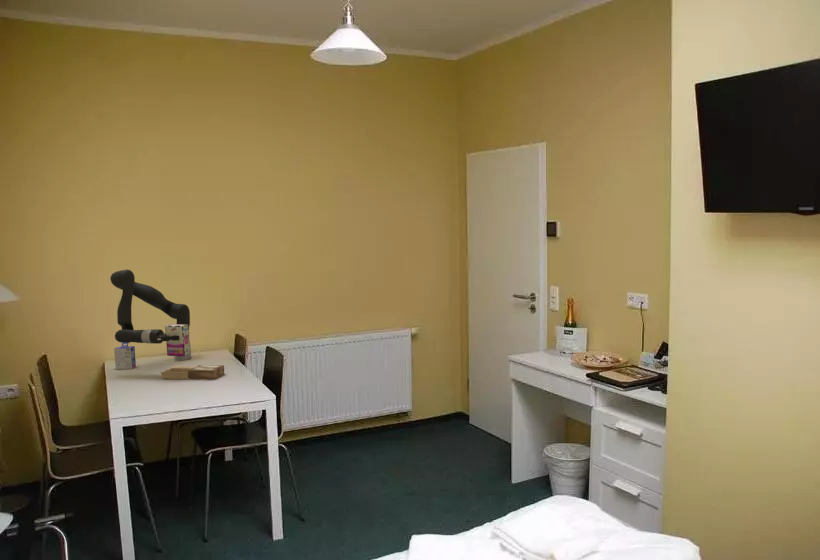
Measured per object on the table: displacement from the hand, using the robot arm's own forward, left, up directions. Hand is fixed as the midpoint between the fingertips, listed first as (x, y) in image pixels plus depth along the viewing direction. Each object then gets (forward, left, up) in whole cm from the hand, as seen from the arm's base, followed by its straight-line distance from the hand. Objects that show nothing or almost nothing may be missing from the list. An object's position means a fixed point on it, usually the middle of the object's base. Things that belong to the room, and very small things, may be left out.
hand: (181, 336), depth 343 cm
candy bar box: (0, -3, -10) cm, 11 cm away
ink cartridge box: (-16, -45, -22) cm, 52 cm away
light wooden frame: (0, -3, -21) cm, 22 cm away
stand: (0, +13, -21) cm, 25 cm away
